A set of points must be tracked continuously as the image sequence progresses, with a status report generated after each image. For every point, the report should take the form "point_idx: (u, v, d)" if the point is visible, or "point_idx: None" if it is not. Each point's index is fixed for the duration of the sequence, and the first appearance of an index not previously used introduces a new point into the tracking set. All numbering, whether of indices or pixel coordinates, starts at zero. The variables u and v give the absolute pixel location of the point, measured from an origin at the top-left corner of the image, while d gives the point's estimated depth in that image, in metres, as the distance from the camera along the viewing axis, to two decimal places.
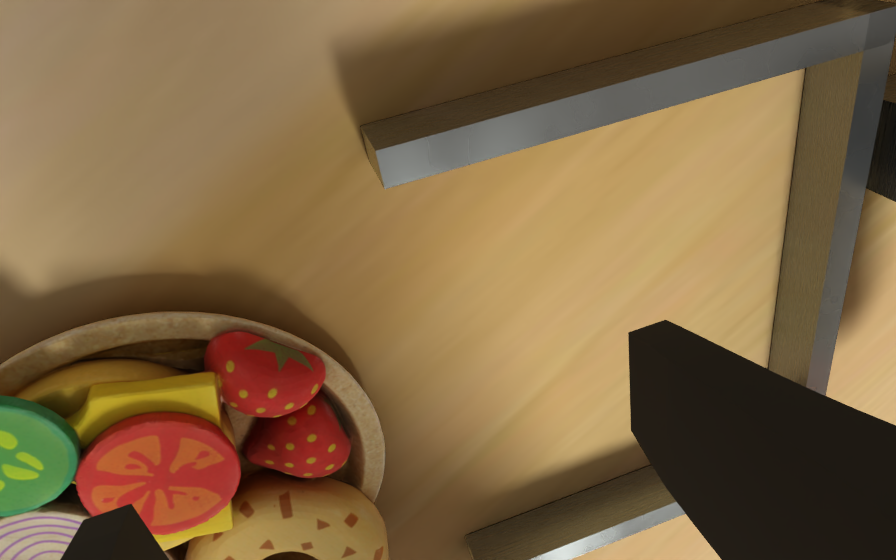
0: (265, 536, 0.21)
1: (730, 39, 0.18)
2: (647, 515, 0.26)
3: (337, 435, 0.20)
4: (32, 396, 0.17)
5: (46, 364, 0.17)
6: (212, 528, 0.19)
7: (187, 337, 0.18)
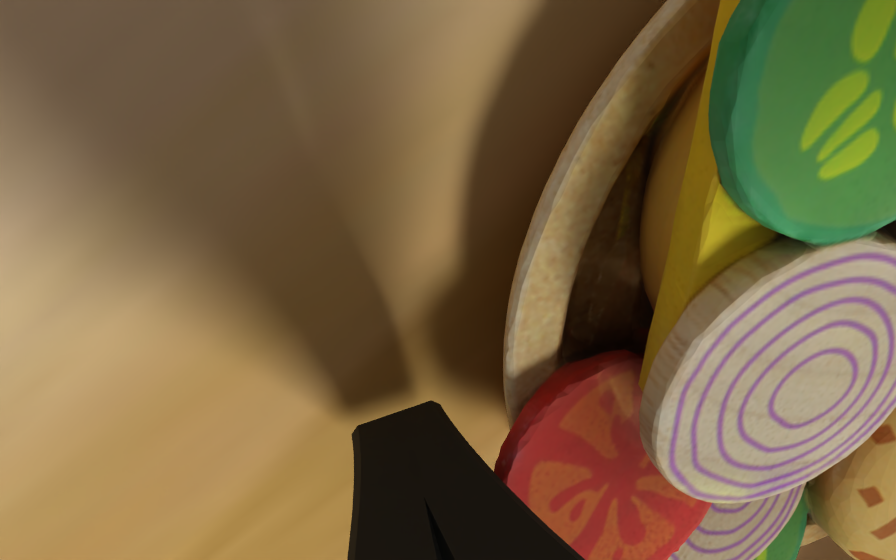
0: None
1: None
2: None
3: None
4: None
5: None
6: None
7: None
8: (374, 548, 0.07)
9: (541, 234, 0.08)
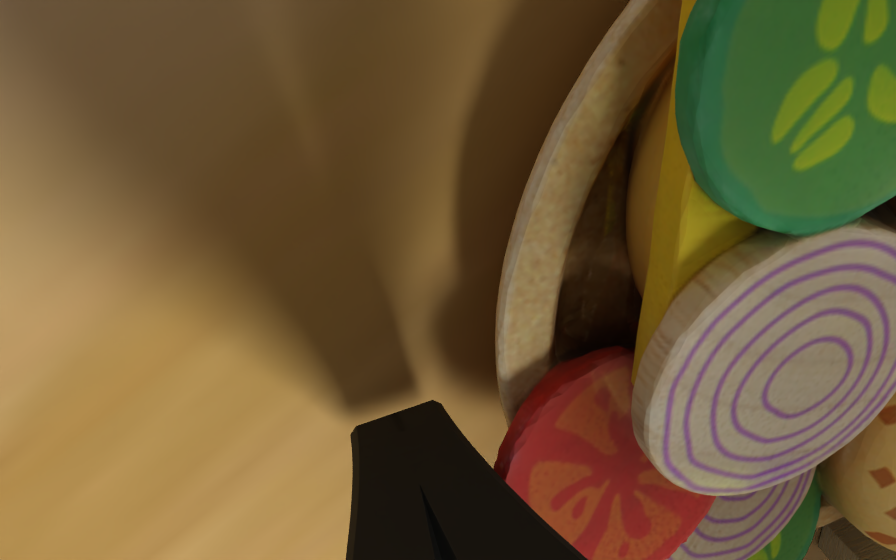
0: None
1: None
2: None
3: None
4: None
5: None
6: None
7: None
8: (372, 549, 0.07)
9: (523, 237, 0.08)
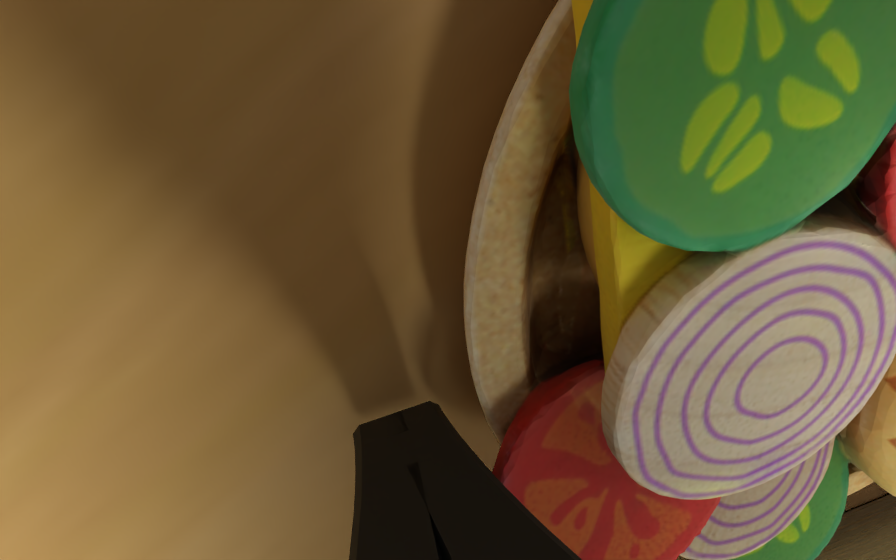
0: None
1: None
2: None
3: None
4: None
5: None
6: None
7: None
8: (376, 548, 0.07)
9: (474, 276, 0.08)
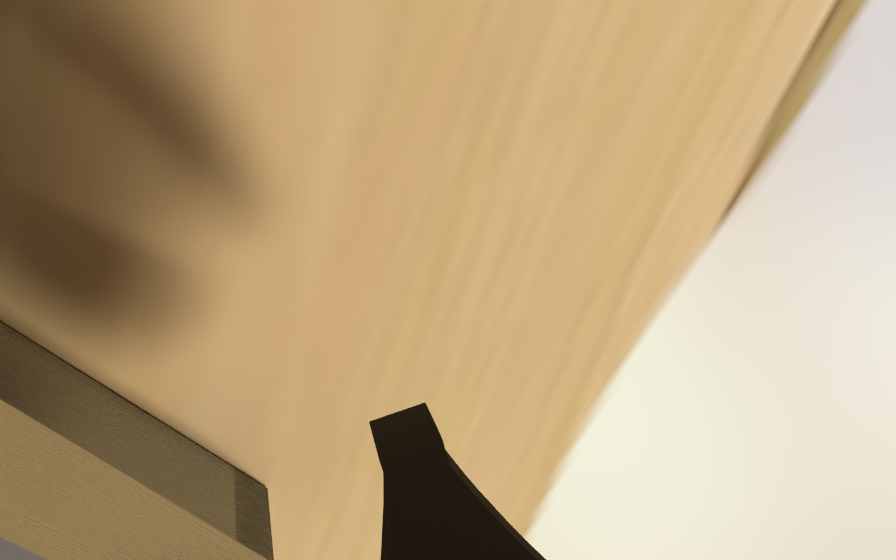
0: None
1: None
2: None
3: None
4: None
5: None
6: None
7: None
8: (408, 535, 0.07)
9: None
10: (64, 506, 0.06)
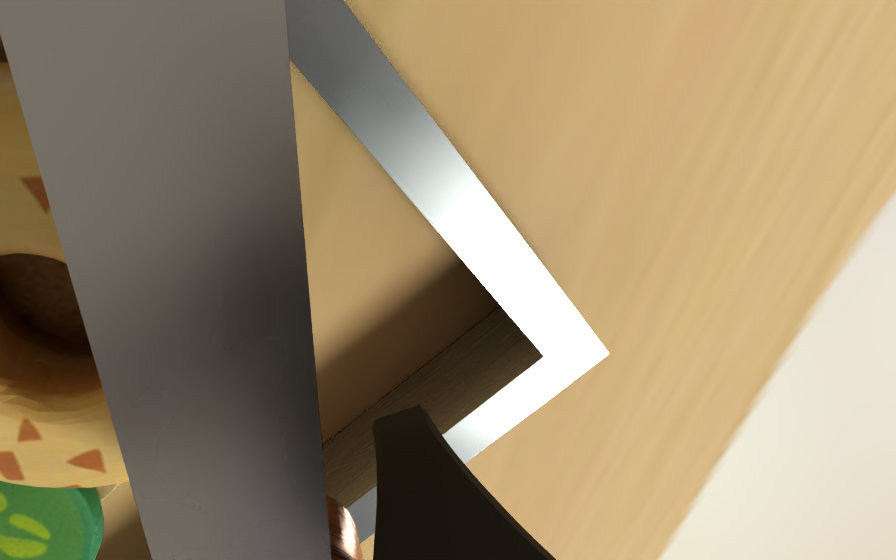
0: None
1: None
2: None
3: None
4: None
5: None
6: None
7: None
8: (401, 538, 0.07)
9: None
10: None
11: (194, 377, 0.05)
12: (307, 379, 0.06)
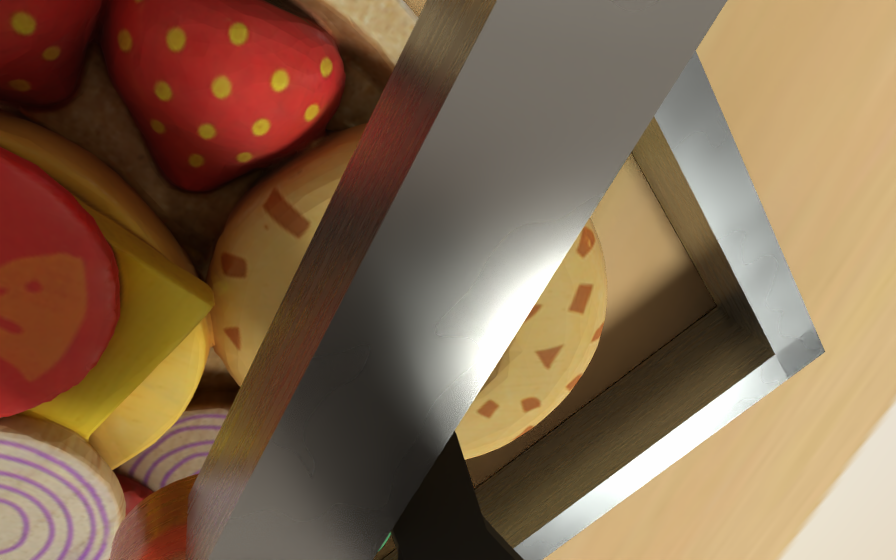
0: None
1: None
2: (529, 540, 0.15)
3: (233, 3, 0.08)
4: None
5: None
6: (173, 326, 0.09)
7: None
8: (425, 529, 0.07)
9: None
10: None
11: (399, 349, 0.06)
12: (473, 391, 0.06)
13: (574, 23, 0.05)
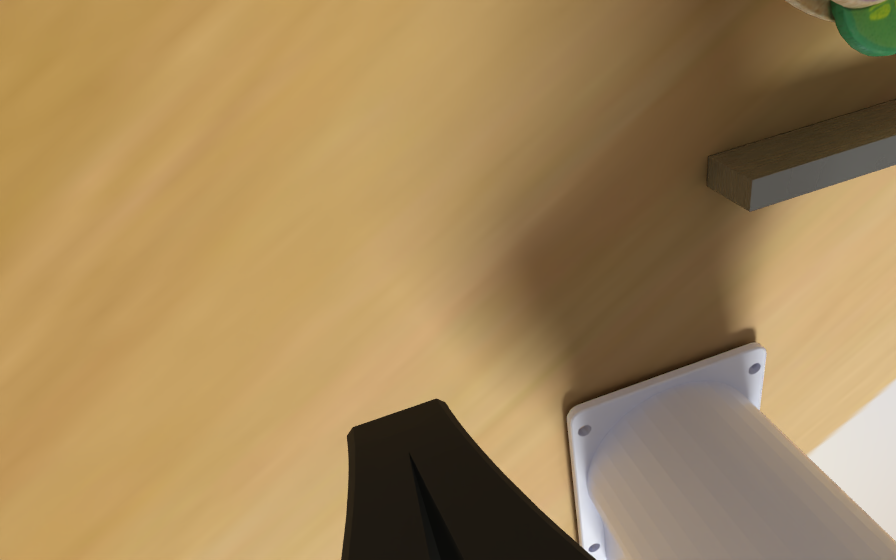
0: None
1: None
2: None
3: None
4: None
5: None
6: None
7: None
8: (368, 550, 0.07)
9: None
10: None
11: None
12: None
13: None
